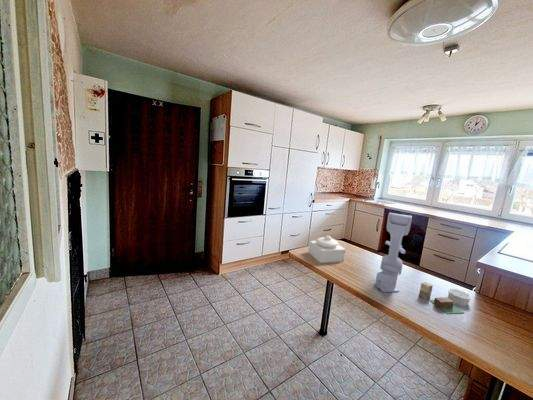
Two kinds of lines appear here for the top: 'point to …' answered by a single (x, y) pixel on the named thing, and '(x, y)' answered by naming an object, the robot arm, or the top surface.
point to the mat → (450, 309)
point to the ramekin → (459, 297)
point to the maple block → (425, 290)
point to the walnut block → (443, 303)
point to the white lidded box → (326, 250)
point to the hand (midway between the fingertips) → (392, 260)
